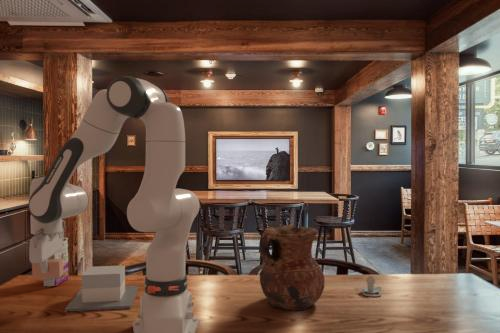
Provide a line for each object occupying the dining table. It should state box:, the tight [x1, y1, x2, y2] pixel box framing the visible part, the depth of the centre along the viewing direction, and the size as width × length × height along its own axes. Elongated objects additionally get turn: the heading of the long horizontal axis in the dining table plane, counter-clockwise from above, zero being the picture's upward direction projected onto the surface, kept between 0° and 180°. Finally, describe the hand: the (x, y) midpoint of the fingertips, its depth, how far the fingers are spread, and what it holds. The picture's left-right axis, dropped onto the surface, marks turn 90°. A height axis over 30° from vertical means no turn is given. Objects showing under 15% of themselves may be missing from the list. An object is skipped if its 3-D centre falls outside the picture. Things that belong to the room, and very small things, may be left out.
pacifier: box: [359, 275, 382, 298], centre depth 143 cm, size 7×6×6 cm
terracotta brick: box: [31, 258, 64, 280], centre depth 129 cm, size 4×8×5 cm, turn 98°
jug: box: [258, 224, 326, 312], centre depth 134 cm, size 22×21×25 cm
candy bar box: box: [42, 237, 70, 286], centre depth 156 cm, size 11×5×16 cm, turn 179°
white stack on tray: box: [64, 264, 140, 312], centre depth 138 cm, size 20×20×10 cm
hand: (48, 270), depth 129 cm, fingers closed on terracotta brick, 4 cm apart
